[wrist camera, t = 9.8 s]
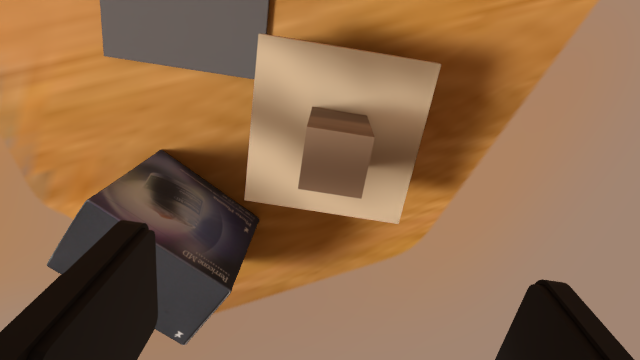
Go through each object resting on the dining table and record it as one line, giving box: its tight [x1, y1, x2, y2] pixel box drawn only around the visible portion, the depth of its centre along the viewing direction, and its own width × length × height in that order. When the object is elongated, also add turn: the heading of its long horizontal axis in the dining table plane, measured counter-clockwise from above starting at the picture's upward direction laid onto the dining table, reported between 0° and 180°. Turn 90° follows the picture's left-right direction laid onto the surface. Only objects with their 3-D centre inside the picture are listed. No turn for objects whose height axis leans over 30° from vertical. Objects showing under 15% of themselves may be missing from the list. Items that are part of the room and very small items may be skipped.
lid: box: [244, 33, 441, 224], centre depth 22 cm, size 11×11×6 cm
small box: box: [47, 150, 259, 345], centre depth 29 cm, size 11×6×10 cm, turn 52°
